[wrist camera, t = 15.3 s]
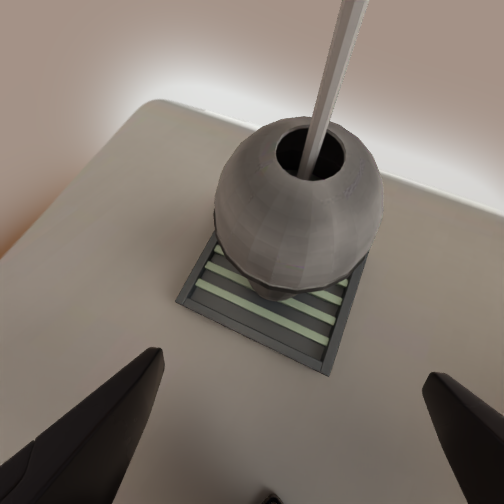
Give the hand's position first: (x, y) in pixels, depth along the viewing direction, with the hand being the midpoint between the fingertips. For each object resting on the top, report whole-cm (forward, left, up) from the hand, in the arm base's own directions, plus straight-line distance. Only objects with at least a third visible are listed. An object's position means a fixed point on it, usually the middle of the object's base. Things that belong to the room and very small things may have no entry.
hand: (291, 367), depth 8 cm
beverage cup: (+4, -5, -12) cm, 14 cm away
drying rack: (+5, -5, -14) cm, 15 cm away
